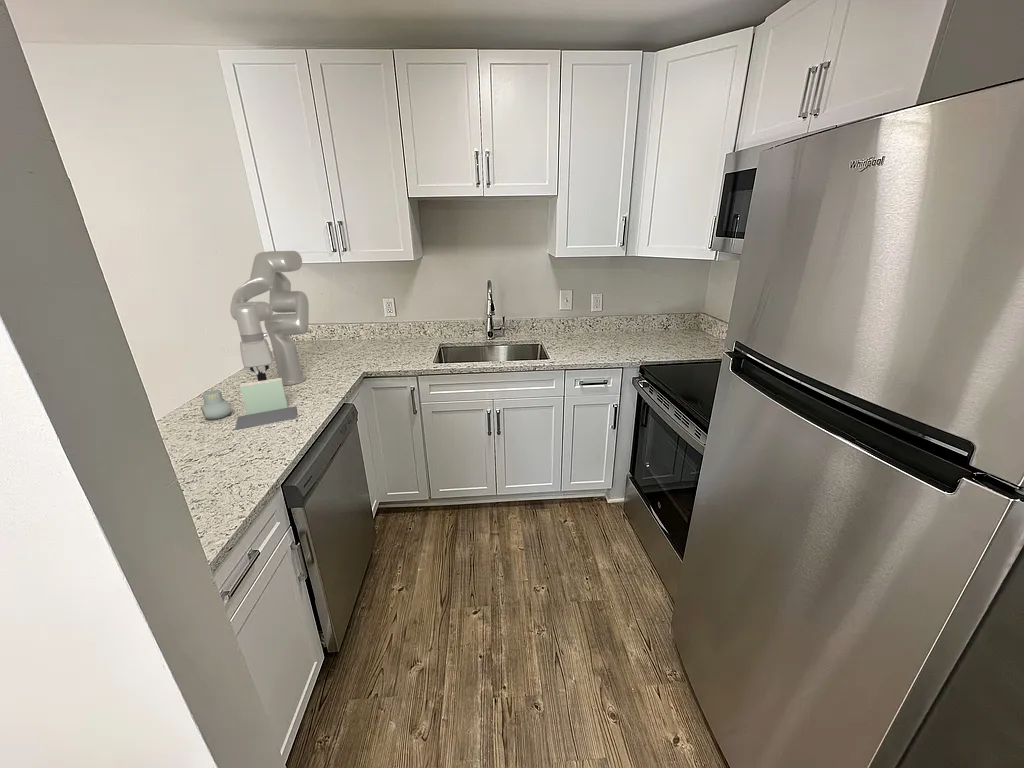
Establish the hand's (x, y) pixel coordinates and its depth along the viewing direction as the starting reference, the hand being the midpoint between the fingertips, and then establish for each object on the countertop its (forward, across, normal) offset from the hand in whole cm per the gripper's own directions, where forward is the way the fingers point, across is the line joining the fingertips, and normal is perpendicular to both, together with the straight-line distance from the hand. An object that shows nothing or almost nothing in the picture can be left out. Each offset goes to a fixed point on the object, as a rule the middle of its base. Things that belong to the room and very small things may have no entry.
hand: (263, 382), depth 170 cm
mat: (+10, 0, +15) cm, 18 cm away
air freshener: (+10, +17, +4) cm, 20 cm away
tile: (+10, 0, +7) cm, 12 cm away
